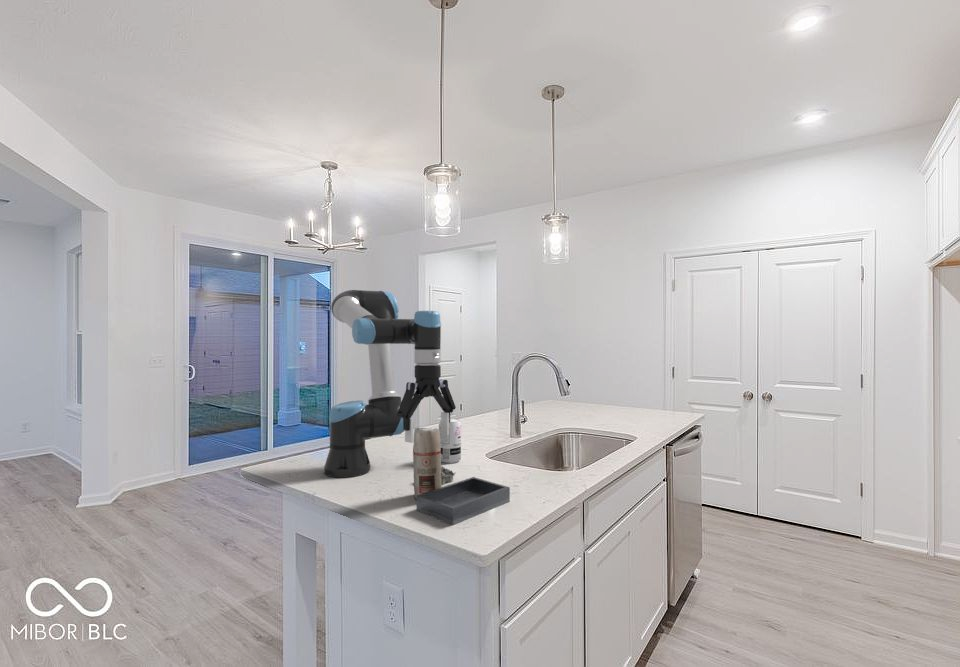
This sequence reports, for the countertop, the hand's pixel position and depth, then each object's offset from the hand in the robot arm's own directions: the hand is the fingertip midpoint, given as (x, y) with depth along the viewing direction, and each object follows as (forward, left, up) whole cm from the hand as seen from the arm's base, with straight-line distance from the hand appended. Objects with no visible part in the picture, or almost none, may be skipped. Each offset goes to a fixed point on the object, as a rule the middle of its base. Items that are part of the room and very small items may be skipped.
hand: (427, 438), depth 134 cm
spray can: (0, 0, -17) cm, 17 cm away
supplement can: (-23, +31, -17) cm, 42 cm away
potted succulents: (-8, +11, -17) cm, 22 cm away
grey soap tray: (+13, +2, -17) cm, 21 cm away
